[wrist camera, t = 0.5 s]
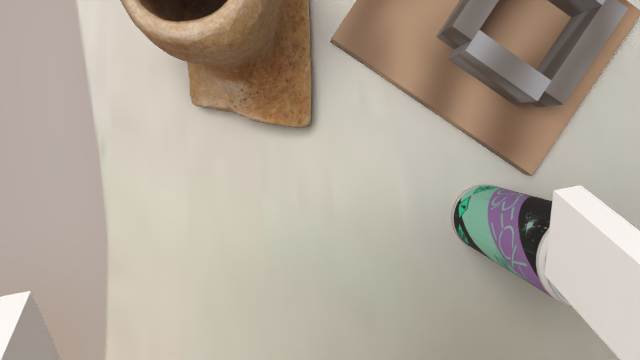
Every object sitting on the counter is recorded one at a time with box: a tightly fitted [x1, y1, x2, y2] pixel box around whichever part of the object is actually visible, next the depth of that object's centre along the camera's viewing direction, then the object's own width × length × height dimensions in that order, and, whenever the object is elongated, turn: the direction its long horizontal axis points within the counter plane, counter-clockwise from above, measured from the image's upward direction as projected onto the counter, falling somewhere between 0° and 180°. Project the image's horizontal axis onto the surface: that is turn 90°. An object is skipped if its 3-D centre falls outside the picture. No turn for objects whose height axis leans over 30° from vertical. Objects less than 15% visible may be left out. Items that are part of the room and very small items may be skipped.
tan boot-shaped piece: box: [120, 0, 312, 128], centre depth 38 cm, size 15×12×15 cm
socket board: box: [330, 0, 640, 175], centre depth 44 cm, size 20×16×6 cm
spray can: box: [451, 185, 573, 307], centre depth 38 cm, size 6×6×20 cm
